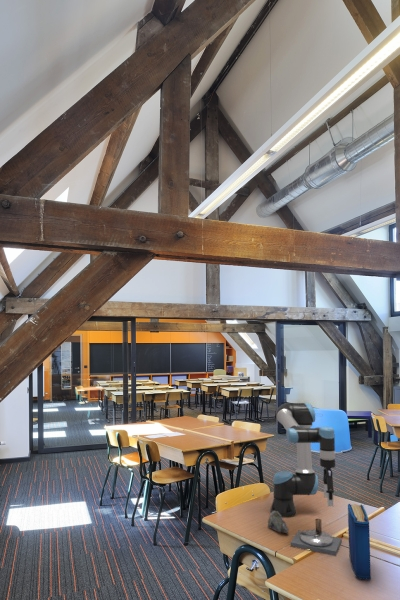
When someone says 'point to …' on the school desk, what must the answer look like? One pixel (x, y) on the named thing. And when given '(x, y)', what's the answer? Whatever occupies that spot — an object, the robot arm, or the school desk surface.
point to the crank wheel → (316, 536)
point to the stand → (329, 549)
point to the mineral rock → (277, 522)
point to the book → (359, 541)
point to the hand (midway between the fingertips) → (328, 501)
